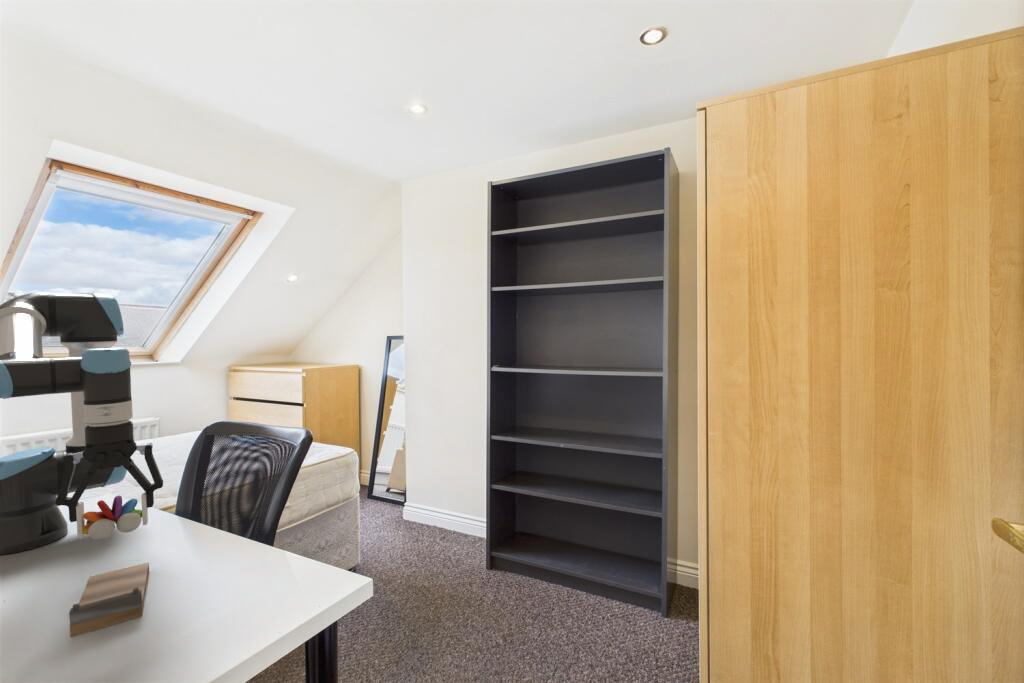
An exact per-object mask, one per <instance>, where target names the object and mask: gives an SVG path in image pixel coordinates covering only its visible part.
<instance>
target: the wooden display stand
mask: <svg viewBox="0 0 1024 683" xmlns="http://www.w3.org/2000/svg"><path fill="white" fill-rule="evenodd" d="M149 574H150V562H145V563H141V564H137V565H132V566H129V567H125V568H120V569H115V570H111V571H107V572H103V573H99V574H94V575H91V576H89V577H88V579H87V582H86V584H85V586H84V590H83V593H82V595H81V597H80V599H79V602H77V603H74V604H72V607H71V608H70V609H69V612H68V613H69V614H68V615H69V616H68V617H69V619H68V620H69V634H70V635H69V636H70V638H72V637H76V636H79V635H82V634H86V633H89V632H93V631H96V630H100V629H103V628H106V627H110V626H112V625H113V626H114V625H116V624H120V623H123V622H126V621H131V620H134V619H136V618H137V619H138V618H141V617H143V613H144V612H143V610H144V605H145V600H146V594H147V587H148V580H149Z"/></svg>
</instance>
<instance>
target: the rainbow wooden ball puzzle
mask: <svg viewBox="0 0 1024 683" xmlns="http://www.w3.org/2000/svg"><path fill="white" fill-rule="evenodd" d="M96 504H97V507H98V508H99V509H100V511H86V512H84V515H83V518H84V520H86V523H85V526H84V527H83V528H82V532H83V534H84V535H88V536H89V538H90V539H93V540H94V541H95V540H96V541H99V540H104V539H107V538H109V537H110V536H111V535H112V534H113V533H114V531H115V529H117V530H118V531H119V532H121V533H132V532H133V531H135V530H137V529H138V528H139V527H140V525H141V523H142V509H136V507H137V505H138V499H137V498H131V499H129V500H128V501H125V503H124V504H123V498H122V496H121V495H116V496H114V498H113V502H112V506H111V508H110V506H109V505H108V504H107V503H106V502H105V501H104V500H103V499H100V500H98V501H97V503H96Z"/></svg>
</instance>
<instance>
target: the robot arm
mask: <svg viewBox="0 0 1024 683" xmlns="http://www.w3.org/2000/svg"><path fill="white" fill-rule="evenodd" d="M124 331H125V330H124V321H123V317H122V312H121V309H120V305H119V303H118V300H117V299H116V298H115V297H114V296H113V295H110V294H104V293H103V294H102V293H95V292H92V293H80V292H79V293H78V292H77V293H76V292H71V293H70V292H69V293H68V292H45V291H44V292H42V291H41V292H39V291H38V292H31V293H25V294H22V295H18V296H16V297H13V298H11V299H9V300H6V301H5V302H3V303H1V304H0V399H3V400H7V399H12V398H22V397H23V398H24V397H30V396H31V397H33V396H42V395H43V396H45V395H54V394H67V393H68V394H69V393H70V401H71V402H70V404H71V420H72V421H71V424H72V425H71V426H72V436H71V437H70V439H68V440H67V442H66V443H65V449H64V450H63V449H62V450H59V451H57V450H56V449H55V447H54V446H42V447H33V448H30V449H25V450H21V451H18V452H14V453H11V454H8V455H5V456H3V457H0V555H1V554H3V555H10V554H16V553H20V552H24V551H29V550H32V549H37V548H39V547H42V546H45V545H47V544H48V545H49V544H50V543H54V542H56V541H57V540H60V539H61V538H63V537H64V536H66V534H68V530H69V528H68V522H67V520H66V518H65V516H64V515H63V513H62V512H61V509H60V508H59V507H60V506H65V507H68V521H69V522H70V523H73V522H74V523H75V522H76V530H77V531H76V532H77V539H78V540H79V539H83V538H84V536H85V534H83V532H82V528H83V527H84V526H85V525H86V523H85V520H86V519H84V518H83V515H84V514H85V504H84V501H79V500H80V499H81V497H82V495H83V494H84V492H85V491H86V490H87V491H88V490H91V489H97V488H105V487H107V486H111V485H115V484H119V483H120V482H122V481H124V479H125V478H126V476H127V475H126V474H127V472H128V473H129V474H130V475H131V476H132V478H133V479H134V480H135V481H136V482H137V483H138V485H139V486H140V487H141V489H143V491H142V492H141V495H140V496H141V510H142V518H141V522H142V526H147V525H148V522H149V512H148V511H149V510H148V508H153V506H154V504H155V503H154V502H155V501H154V500H155V499H154V492H155V491H156V490H158V489H161V488H163V486H164V480H163V478H162V475H161V471H160V470H159V467H158V464H157V462H156V460H155V456H154V454H153V446H154V445H153V443H152V442H147V443H146V444H137V443H136V442H135V439H134V437H135V435H134V422H133V421H131V419H133V417H134V416H133V400H132V398H133V397H132V384H131V383H132V378H131V367H132V361H131V359H130V358H131V357H130V351H129V350H128V349H127V348H126V347H113V346H114V345H115V344H117V343H118V336H119V337H120V336H123V335H124ZM42 337H59V339H60V340H59V341H60V344H61V345H62V346H64V347H65V348H66V349H67V350H68V356H67V357H66V356H65V357H49V358H48V357H47V358H44V354H43V352H44V351H43V349H44V348H43V338H42ZM136 451H138V452H139V454H140V455H142V456H144V460H145V463H146V465H147V467H148V470H149V472H150V475H151V478H152V480H153V482H154V483H151V482H150V480H149V479H148V478H147V477H146V475H145V474H144V473H143V472H142V470H140V469H139V467H138V466H137V464H135V462H134V460H133V459H132V456H133V455H134V453H135V452H136ZM71 493H73V495H72V497H68V494H71Z"/></svg>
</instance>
